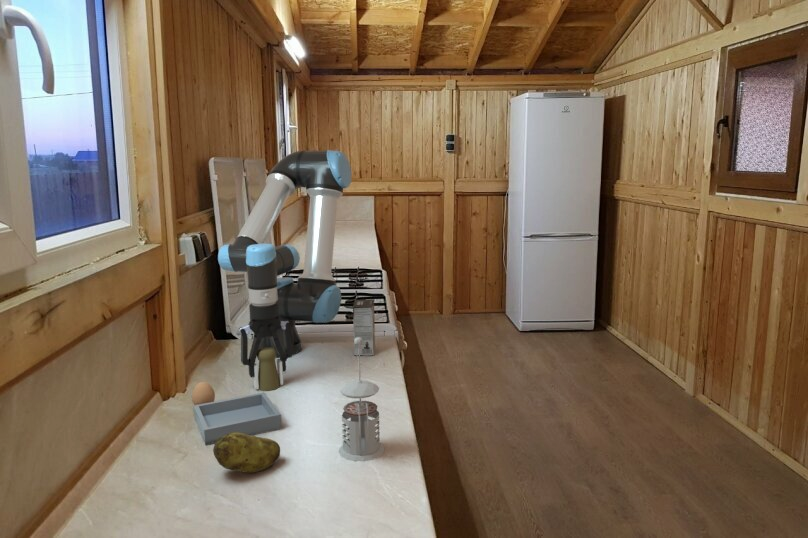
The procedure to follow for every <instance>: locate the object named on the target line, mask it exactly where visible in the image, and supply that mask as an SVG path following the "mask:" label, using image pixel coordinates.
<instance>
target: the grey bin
mask: <svg viewBox="0 0 808 538" xmlns="http://www.w3.org/2000/svg"><path fill="white" fill-rule="evenodd" d="M193 416H194V421H195V423H197V424H196V425H197V428H198V431H199V430H200V431H199V434H200V435H201V438H202V441H203V443H204V445H205V446H208V445H212V444H215V443H216V442H217V440H218V439H219V438H220V437H223V436H224V435H227V434H230V433H243V434H246V435H251V436H255V435H259V434H264V433H268V432H273V431H277V430H282V427H283V426H282V414H281V413H280V411H279V410H278V409H277V407H276V405H274V403H273V402H272V401H271V399H270V397H269V396H268V395H267V394H266V392H259V393H253V394H249V395H243V396H238V397H232V398H227V399H221V400H216V401H215V400H214V402H210V403H205V404H199V405H194V404H193Z"/></svg>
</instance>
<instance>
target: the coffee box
mask: <svg viewBox="0 0 808 538" xmlns="http://www.w3.org/2000/svg"><path fill="white" fill-rule="evenodd" d="M352 321H353V325H352V326H353V340H354V339H355V338H357V337H360V338H362V339H363V343H362V344H359V347H360V355H374V356H375V350H376V335H375V334H376V333H375V332H376V331H375V330H376V328H375V322H376V321H375V299H354V302H353V306H352ZM353 351H354V353H353V354H354V355H359V353H358V344H355V343H354V342H353Z"/></svg>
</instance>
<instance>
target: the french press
mask: <svg viewBox="0 0 808 538" xmlns="http://www.w3.org/2000/svg"><path fill="white" fill-rule="evenodd" d="M354 343H355V344H358V353H359V356H358V379H357V380H354V381H350V382H347V384H345V385H343V386H342V387H341V388H340V393H341V394H342V395H343V396H344V397H346V398H350V399H359V400H353V401H351V402H347V403H346V404H345V405H344V406H343V412H342V415H341V421H342V422H343V423H342V424H341V425H342V427H341V428H342V431H341V432H342V439H343V440H342V445H341V446H340V447H339V449H338V454H339V456H340V457H341V458H344V459H345V460H348V461H353V462H366V461H371V460H374V458H375V459H377V458H379V457H381V456H382V455H383V454H384V452H385V446H384V445H383V444H382V443H381V442H380V438H381V437H380V412H379V411H378V405H377V404H376V403H375V402H373V401H369V400H368V401H367V400H362V399H366V398H367V399H368V398H370V397H372V396H375V395H376V394H377V393H378V392H379V390H380V387H379V386H378V385H377V384H376V383H374V382H371V381H368V380H365V379H364V380H361V359H360V357H361V356H360V347H359V344H362V343H363V339H362V338H360V337H357V338H355V339H354V338H353V344H354ZM369 417H370V419H369ZM371 418H372V419H371ZM349 419H350V420H349ZM346 432H347V433H346Z"/></svg>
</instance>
